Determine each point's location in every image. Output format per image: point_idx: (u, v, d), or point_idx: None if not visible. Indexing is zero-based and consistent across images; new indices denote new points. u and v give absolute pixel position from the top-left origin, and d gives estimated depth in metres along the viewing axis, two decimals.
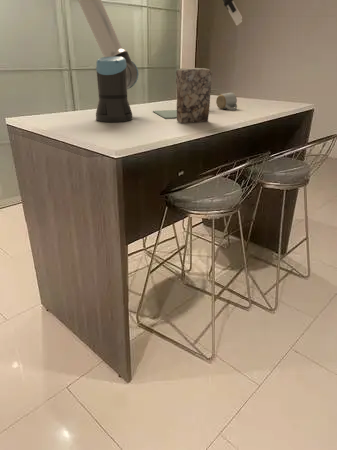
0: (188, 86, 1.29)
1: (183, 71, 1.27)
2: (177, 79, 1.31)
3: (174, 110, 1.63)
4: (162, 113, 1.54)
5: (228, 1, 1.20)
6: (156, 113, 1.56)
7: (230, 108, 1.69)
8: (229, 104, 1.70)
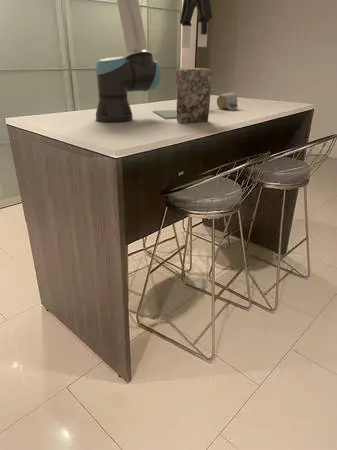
0: (188, 86, 1.29)
1: (183, 71, 1.27)
2: (177, 79, 1.31)
3: (174, 110, 1.63)
4: (162, 113, 1.54)
5: (206, 19, 1.00)
6: (156, 113, 1.56)
7: (231, 108, 1.68)
8: (230, 104, 1.70)
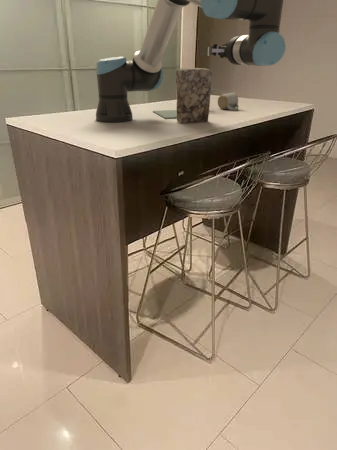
0: (188, 86, 1.29)
1: (183, 71, 1.27)
2: (177, 79, 1.31)
3: (174, 110, 1.63)
4: (162, 113, 1.54)
5: None
6: (156, 113, 1.56)
7: (231, 108, 1.68)
8: (230, 104, 1.70)
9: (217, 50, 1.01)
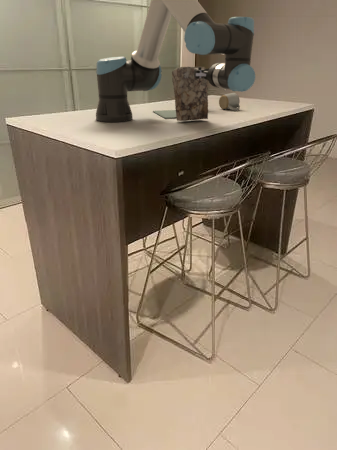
0: (184, 83, 1.31)
1: (178, 69, 1.29)
2: (173, 79, 1.34)
3: (174, 110, 1.63)
4: (162, 113, 1.54)
5: None
6: (156, 113, 1.56)
7: (233, 108, 1.67)
8: (232, 104, 1.69)
9: (200, 74, 1.16)
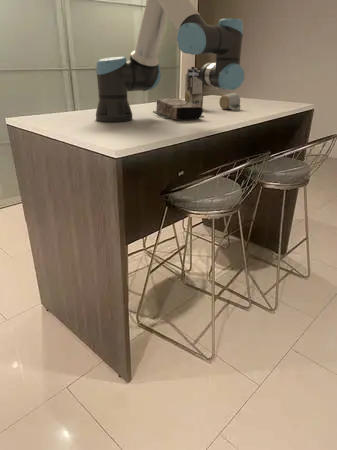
0: (166, 101, 1.48)
1: (157, 100, 1.52)
2: (159, 111, 1.51)
3: None
4: None
5: None
6: (156, 113, 1.56)
7: (233, 109, 1.67)
8: (232, 105, 1.69)
9: (193, 73, 1.20)
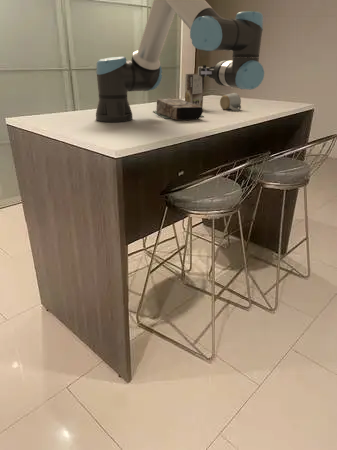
0: (166, 101, 1.48)
1: (157, 100, 1.52)
2: (159, 111, 1.51)
3: None
4: None
5: None
6: (156, 113, 1.56)
7: (234, 109, 1.67)
8: (233, 105, 1.68)
9: (205, 72, 1.12)
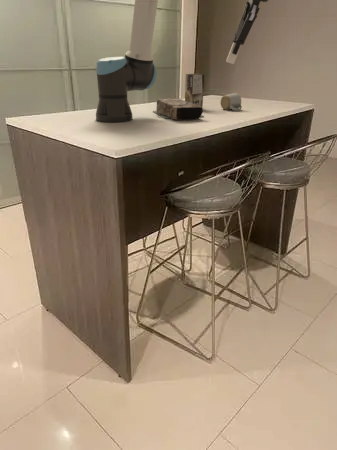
0: (166, 101, 1.48)
1: (157, 100, 1.52)
2: (159, 111, 1.51)
3: None
4: None
5: (238, 43, 1.10)
6: (156, 113, 1.56)
7: (234, 109, 1.66)
8: (233, 105, 1.68)
9: (253, 11, 1.01)
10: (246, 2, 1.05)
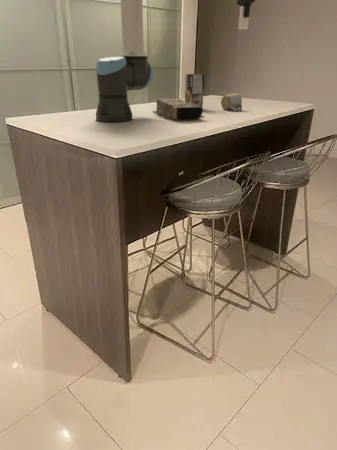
0: (166, 101, 1.48)
1: (157, 100, 1.52)
2: (159, 111, 1.51)
3: None
4: None
5: (249, 3, 1.08)
6: (156, 113, 1.56)
7: (235, 109, 1.66)
8: (234, 105, 1.68)
9: None
10: None
